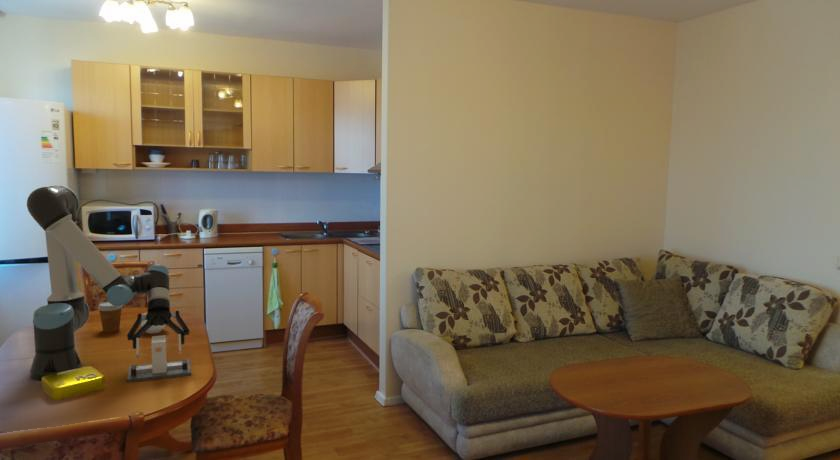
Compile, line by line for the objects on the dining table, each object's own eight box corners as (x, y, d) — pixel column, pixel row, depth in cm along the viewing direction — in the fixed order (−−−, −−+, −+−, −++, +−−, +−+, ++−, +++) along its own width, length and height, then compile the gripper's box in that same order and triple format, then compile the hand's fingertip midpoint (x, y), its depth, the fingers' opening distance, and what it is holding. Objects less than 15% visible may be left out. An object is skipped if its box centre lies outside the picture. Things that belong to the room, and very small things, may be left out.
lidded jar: (159, 335, 243) (159, 314, 242) (135, 334, 243) (134, 313, 242) (171, 328, 253) (170, 308, 252) (147, 327, 254) (147, 307, 253)
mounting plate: (126, 382, 190) (126, 374, 190) (129, 368, 203) (129, 361, 203) (190, 374, 199) (190, 367, 198) (189, 362, 211) (189, 354, 211)
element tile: (91, 377, 196) (90, 363, 195) (106, 389, 186) (106, 375, 185) (40, 388, 185) (39, 374, 184) (54, 402, 175) (53, 387, 174)
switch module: (166, 372, 197) (165, 342, 196) (152, 374, 195) (151, 343, 194) (166, 364, 205) (165, 335, 204) (152, 366, 204) (152, 336, 202)
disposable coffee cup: (94, 331, 246) (93, 304, 245) (114, 326, 255) (113, 300, 254) (107, 334, 242) (106, 307, 241) (128, 329, 250) (127, 302, 249)
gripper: (194, 305, 218) (197, 355, 206) (121, 310, 208) (119, 363, 196) (194, 294, 212) (197, 345, 200) (120, 299, 202) (118, 353, 190)
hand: (159, 354), depth 198 cm, fingers open, 13 cm apart
